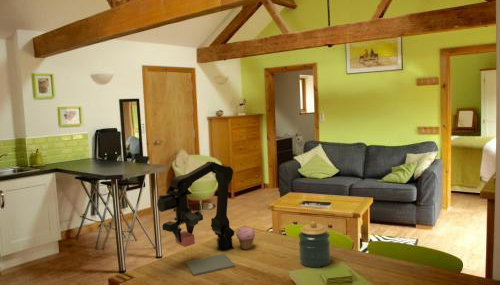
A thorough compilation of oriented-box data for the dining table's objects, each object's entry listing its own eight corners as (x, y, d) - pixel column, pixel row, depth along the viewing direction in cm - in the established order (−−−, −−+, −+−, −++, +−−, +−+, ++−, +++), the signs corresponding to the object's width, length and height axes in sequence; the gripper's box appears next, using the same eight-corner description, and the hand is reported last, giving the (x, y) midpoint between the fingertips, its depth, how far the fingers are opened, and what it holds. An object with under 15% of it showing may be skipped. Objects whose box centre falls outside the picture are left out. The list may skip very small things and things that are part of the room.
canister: (330, 268, 166) (328, 226, 164) (298, 267, 169) (296, 226, 167) (330, 255, 179) (329, 216, 177) (301, 255, 181) (299, 216, 179)
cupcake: (234, 246, 197) (233, 226, 196) (250, 242, 200) (249, 223, 199) (242, 252, 189) (240, 231, 188) (258, 248, 192) (257, 228, 191)
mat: (225, 255, 187) (225, 253, 187) (234, 266, 174) (234, 265, 174) (186, 263, 181) (186, 261, 180) (193, 275, 168) (193, 274, 167)
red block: (185, 239, 185) (184, 230, 184) (194, 243, 179) (194, 234, 178) (175, 242, 182) (174, 233, 181) (184, 247, 175) (184, 238, 175)
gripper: (176, 214, 166) (180, 251, 168) (210, 202, 180) (213, 236, 182) (159, 210, 173) (163, 246, 175) (193, 199, 187) (196, 232, 189)
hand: (185, 240), depth 180 cm, fingers closed on red block, 5 cm apart
